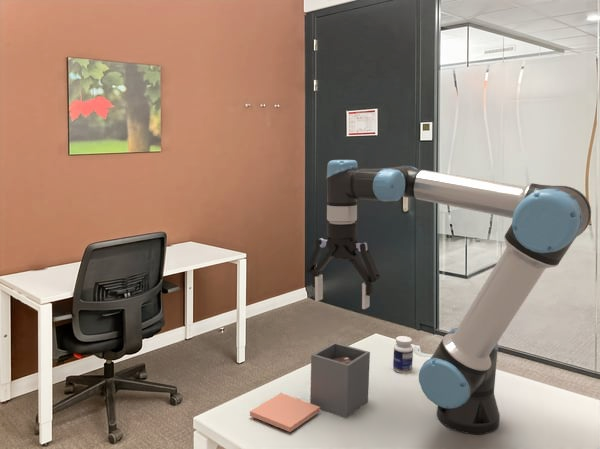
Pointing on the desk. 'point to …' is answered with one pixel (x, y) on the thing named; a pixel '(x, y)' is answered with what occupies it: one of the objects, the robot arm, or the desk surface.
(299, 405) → the lid
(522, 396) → the desk surface
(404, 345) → the pill bottle
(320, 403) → the bin
